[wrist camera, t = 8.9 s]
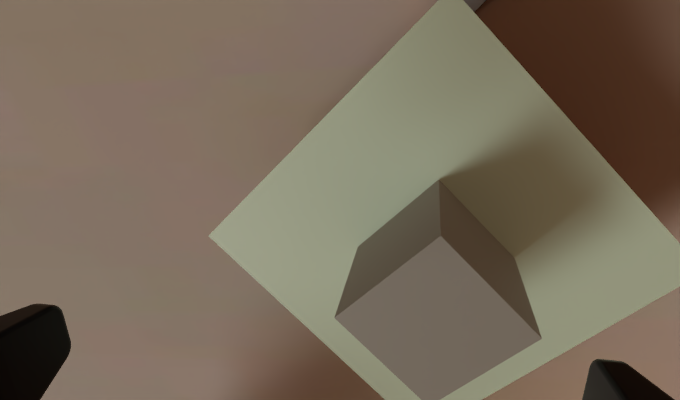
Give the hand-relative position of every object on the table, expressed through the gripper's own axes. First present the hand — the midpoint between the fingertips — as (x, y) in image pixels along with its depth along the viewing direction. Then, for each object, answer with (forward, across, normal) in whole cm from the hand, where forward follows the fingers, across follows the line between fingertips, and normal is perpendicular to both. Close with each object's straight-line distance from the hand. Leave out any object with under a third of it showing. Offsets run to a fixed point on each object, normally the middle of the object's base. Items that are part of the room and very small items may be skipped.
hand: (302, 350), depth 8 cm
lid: (+8, -2, +2) cm, 9 cm away
